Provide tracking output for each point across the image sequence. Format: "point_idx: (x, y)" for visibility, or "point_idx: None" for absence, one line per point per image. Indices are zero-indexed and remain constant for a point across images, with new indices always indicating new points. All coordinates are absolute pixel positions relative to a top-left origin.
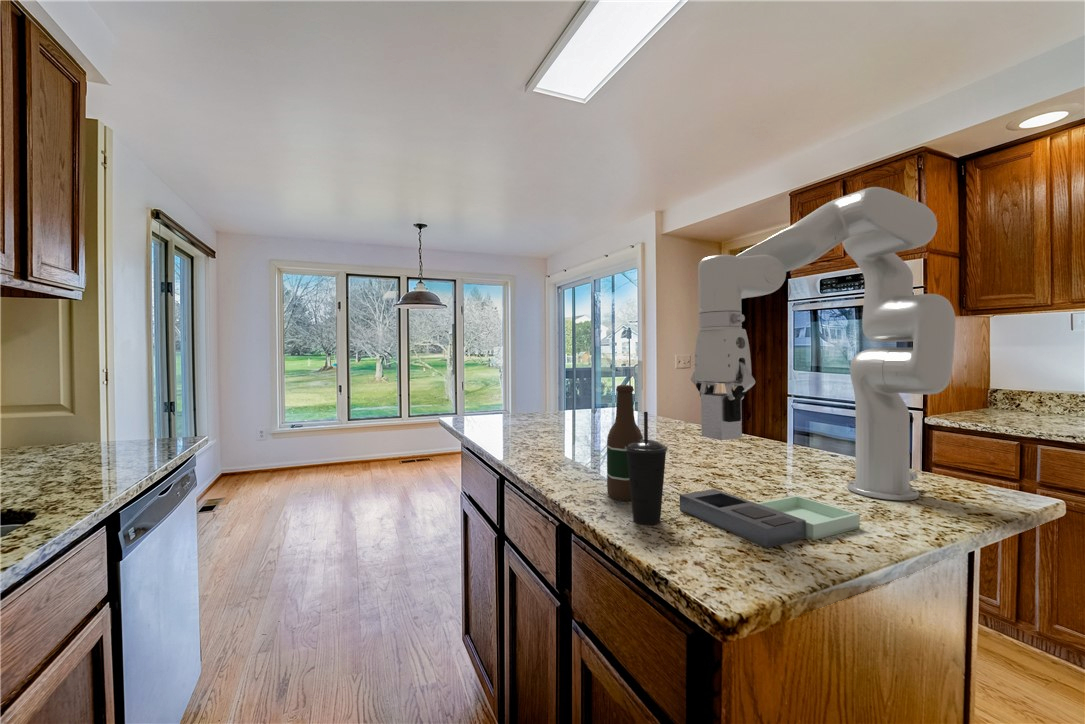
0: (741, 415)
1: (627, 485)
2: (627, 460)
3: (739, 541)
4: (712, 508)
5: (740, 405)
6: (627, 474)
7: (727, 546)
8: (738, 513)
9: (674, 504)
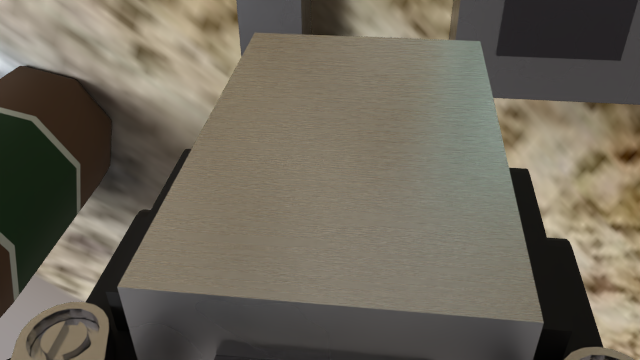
0: (503, 144)
1: (90, 189)
2: (40, 254)
3: (586, 105)
4: None
5: (592, 317)
6: (70, 215)
7: (583, 162)
8: (540, 64)
9: (191, 29)
